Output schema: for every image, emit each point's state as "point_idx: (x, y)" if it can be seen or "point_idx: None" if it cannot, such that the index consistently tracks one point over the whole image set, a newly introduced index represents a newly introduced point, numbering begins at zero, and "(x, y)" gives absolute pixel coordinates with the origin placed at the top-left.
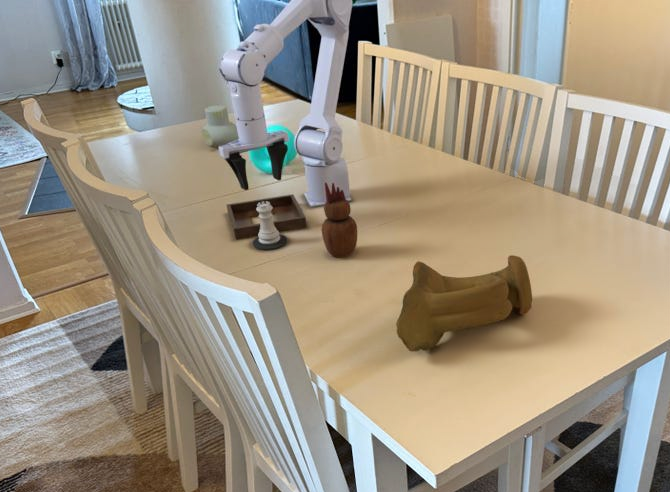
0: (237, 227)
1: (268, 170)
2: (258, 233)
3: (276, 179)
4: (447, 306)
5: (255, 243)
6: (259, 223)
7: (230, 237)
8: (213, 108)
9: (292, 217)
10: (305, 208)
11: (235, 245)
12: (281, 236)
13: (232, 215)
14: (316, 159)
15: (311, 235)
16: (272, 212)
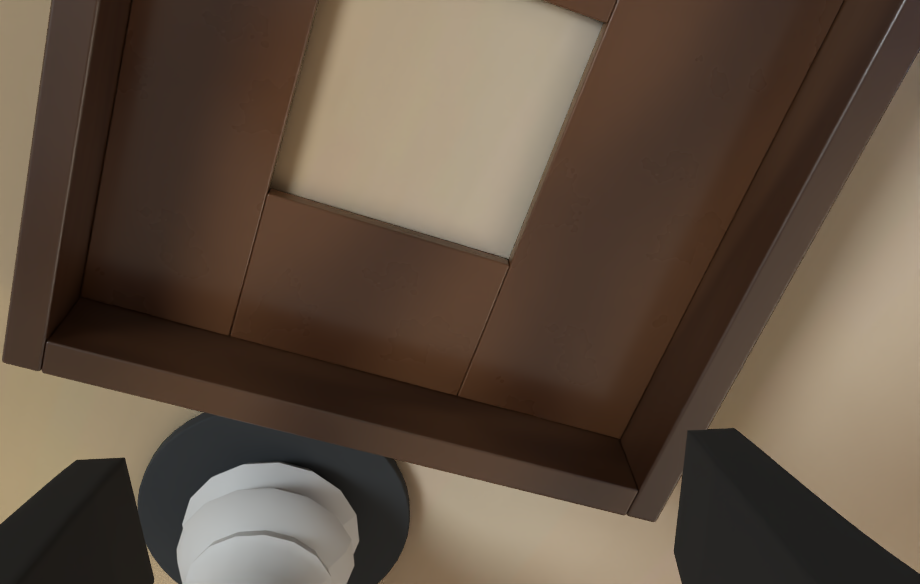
0: (45, 352)
1: None
2: (186, 539)
3: (679, 502)
4: None
5: (159, 496)
6: (267, 399)
7: (12, 233)
8: None
9: (659, 258)
10: (904, 103)
11: (14, 396)
12: (383, 506)
13: (81, 32)
14: None
15: (579, 571)
16: (589, 10)
